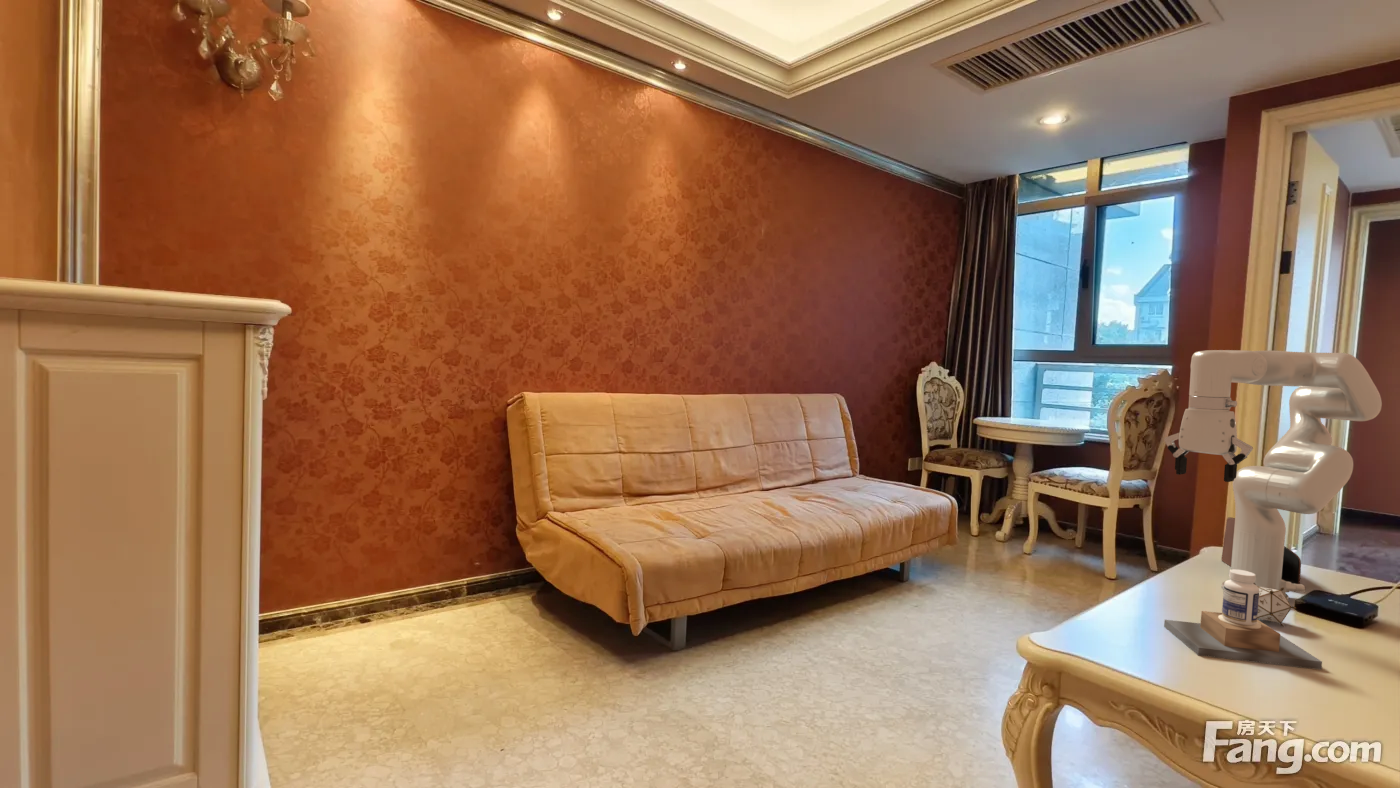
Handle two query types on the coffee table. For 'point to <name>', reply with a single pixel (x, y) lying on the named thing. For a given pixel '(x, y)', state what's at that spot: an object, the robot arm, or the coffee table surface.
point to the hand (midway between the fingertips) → (1204, 477)
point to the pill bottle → (1240, 598)
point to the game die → (1272, 605)
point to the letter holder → (1290, 559)
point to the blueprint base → (1237, 653)
